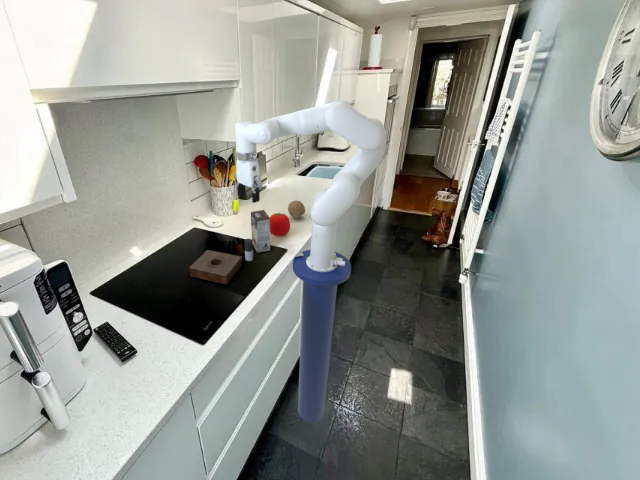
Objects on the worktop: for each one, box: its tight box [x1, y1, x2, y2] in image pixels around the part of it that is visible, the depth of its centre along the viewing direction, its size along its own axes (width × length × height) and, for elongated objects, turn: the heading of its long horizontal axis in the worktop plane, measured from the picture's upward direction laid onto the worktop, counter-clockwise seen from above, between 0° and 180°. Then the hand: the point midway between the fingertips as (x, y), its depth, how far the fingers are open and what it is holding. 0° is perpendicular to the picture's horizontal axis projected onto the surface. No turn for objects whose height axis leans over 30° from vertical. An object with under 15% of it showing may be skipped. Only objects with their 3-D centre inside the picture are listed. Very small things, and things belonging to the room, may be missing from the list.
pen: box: [244, 238, 254, 262], centre depth 128 cm, size 3×3×9 cm
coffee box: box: [250, 209, 271, 254], centre depth 135 cm, size 9×6×16 cm
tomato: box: [269, 212, 291, 237], centre depth 146 cm, size 10×11×11 cm
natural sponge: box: [287, 200, 306, 220], centre depth 162 cm, size 9×9×10 cm
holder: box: [188, 249, 243, 286], centre depth 122 cm, size 16×14×4 cm
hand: (248, 198), depth 123 cm, fingers open, 9 cm apart
